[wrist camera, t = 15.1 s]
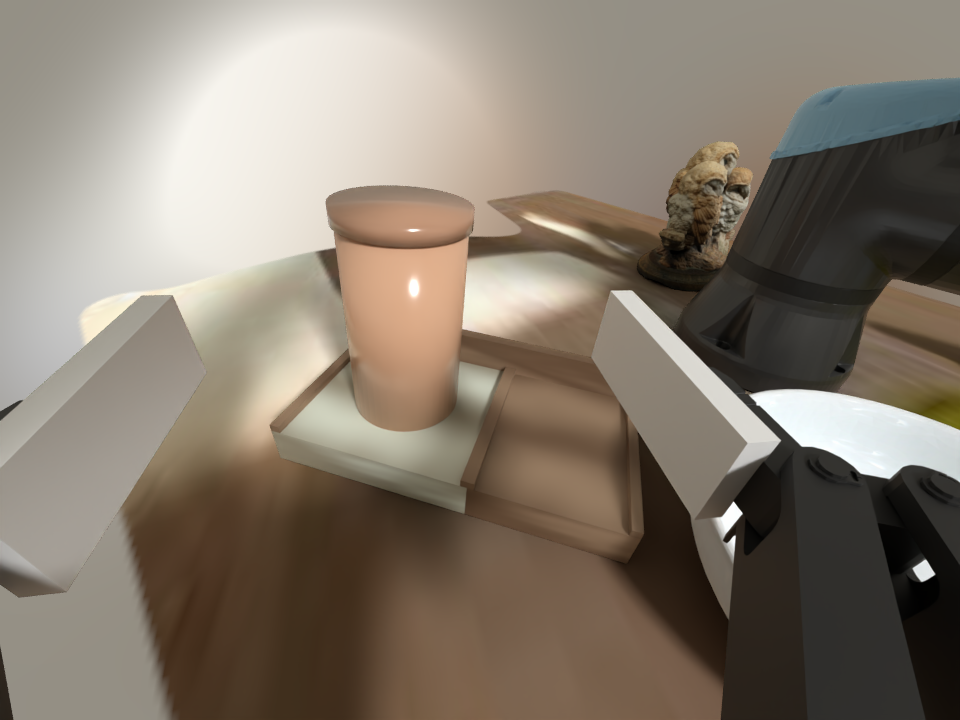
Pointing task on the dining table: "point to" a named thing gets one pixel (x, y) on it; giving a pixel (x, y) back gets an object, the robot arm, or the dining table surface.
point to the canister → (402, 299)
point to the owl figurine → (699, 219)
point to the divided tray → (493, 445)
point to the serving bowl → (848, 434)
